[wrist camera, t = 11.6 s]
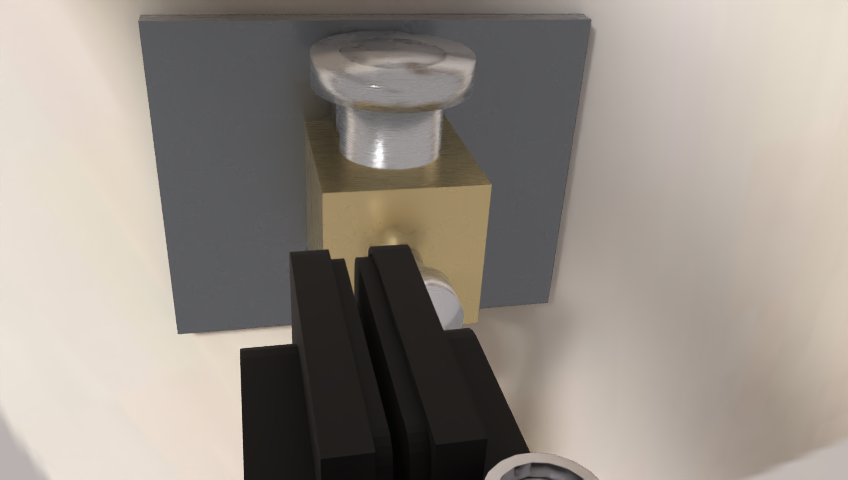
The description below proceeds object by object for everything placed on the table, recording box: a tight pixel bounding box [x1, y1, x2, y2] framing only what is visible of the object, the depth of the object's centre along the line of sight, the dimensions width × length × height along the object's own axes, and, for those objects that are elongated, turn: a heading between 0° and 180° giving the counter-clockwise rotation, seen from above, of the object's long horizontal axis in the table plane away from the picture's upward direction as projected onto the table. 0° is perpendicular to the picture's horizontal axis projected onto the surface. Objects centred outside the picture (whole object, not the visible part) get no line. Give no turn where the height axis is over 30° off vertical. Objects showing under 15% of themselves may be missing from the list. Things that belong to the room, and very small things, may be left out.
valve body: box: [138, 14, 591, 334], centre depth 42 cm, size 24×19×13 cm
